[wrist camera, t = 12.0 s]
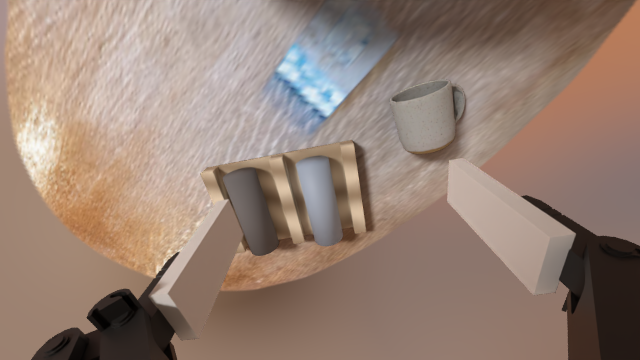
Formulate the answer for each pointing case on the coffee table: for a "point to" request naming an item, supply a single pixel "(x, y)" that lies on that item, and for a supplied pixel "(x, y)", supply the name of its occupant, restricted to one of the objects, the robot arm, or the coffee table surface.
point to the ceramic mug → (427, 115)
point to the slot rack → (296, 189)
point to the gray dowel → (320, 199)
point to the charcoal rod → (252, 210)
